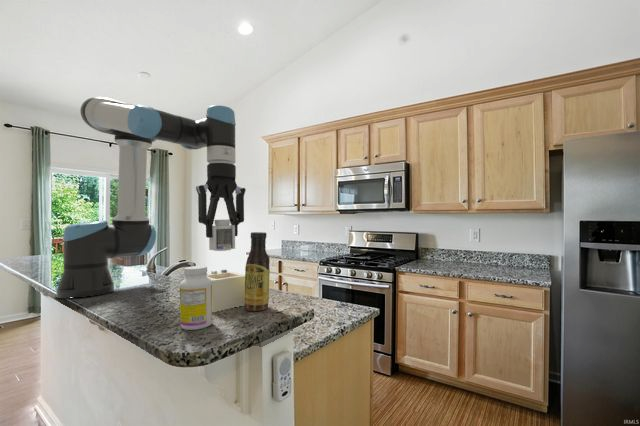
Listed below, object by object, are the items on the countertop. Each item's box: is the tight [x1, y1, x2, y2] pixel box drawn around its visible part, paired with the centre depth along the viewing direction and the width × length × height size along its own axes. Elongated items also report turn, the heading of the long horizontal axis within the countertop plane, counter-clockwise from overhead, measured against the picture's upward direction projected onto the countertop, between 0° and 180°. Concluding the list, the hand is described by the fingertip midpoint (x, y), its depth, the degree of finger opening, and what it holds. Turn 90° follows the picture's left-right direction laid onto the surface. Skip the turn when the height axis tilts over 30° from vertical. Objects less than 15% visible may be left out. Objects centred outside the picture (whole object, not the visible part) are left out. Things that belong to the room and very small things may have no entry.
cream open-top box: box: [206, 269, 245, 313], centre depth 88 cm, size 12×10×9 cm
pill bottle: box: [213, 218, 232, 252], centre depth 88 cm, size 5×5×8 cm
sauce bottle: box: [244, 231, 271, 312], centre depth 84 cm, size 6×6×20 cm
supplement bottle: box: [179, 265, 213, 331], centre depth 71 cm, size 7×7×13 cm
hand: (222, 248), depth 88 cm, fingers closed on pill bottle, 5 cm apart
